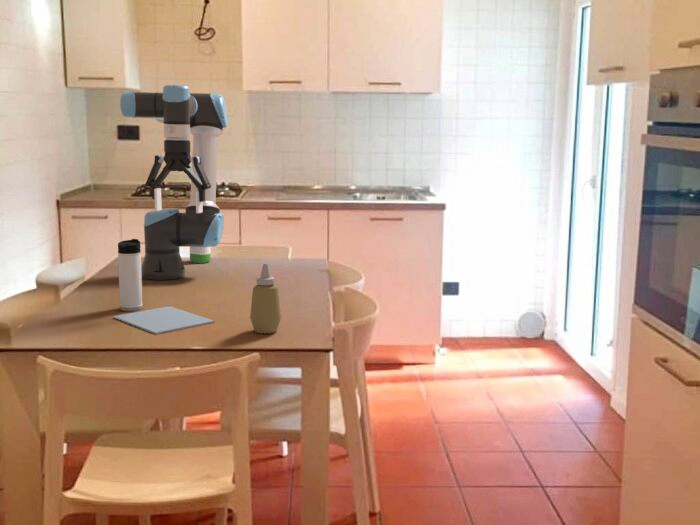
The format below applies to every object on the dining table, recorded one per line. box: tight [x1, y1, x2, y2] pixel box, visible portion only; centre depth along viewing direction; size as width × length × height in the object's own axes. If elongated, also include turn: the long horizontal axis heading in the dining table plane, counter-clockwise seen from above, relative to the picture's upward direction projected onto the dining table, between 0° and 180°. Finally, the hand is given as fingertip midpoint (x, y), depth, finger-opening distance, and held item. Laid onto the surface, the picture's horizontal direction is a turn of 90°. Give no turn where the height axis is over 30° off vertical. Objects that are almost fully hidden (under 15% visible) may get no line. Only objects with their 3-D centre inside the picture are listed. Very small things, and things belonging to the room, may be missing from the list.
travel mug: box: [117, 238, 143, 313], centre depth 227 cm, size 6×7×20 cm
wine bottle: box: [189, 247, 212, 264], centre depth 300 cm, size 8×8×30 cm
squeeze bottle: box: [249, 263, 282, 335], centre depth 206 cm, size 8×8×18 cm
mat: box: [113, 305, 215, 335], centre depth 217 cm, size 22×18×1 cm
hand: (178, 211), depth 235 cm, fingers open, 13 cm apart
